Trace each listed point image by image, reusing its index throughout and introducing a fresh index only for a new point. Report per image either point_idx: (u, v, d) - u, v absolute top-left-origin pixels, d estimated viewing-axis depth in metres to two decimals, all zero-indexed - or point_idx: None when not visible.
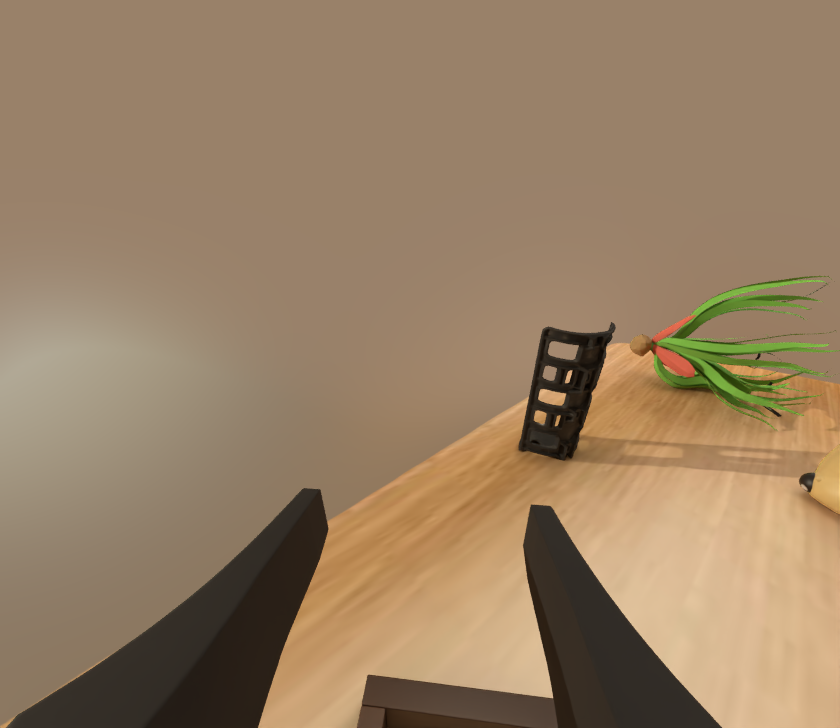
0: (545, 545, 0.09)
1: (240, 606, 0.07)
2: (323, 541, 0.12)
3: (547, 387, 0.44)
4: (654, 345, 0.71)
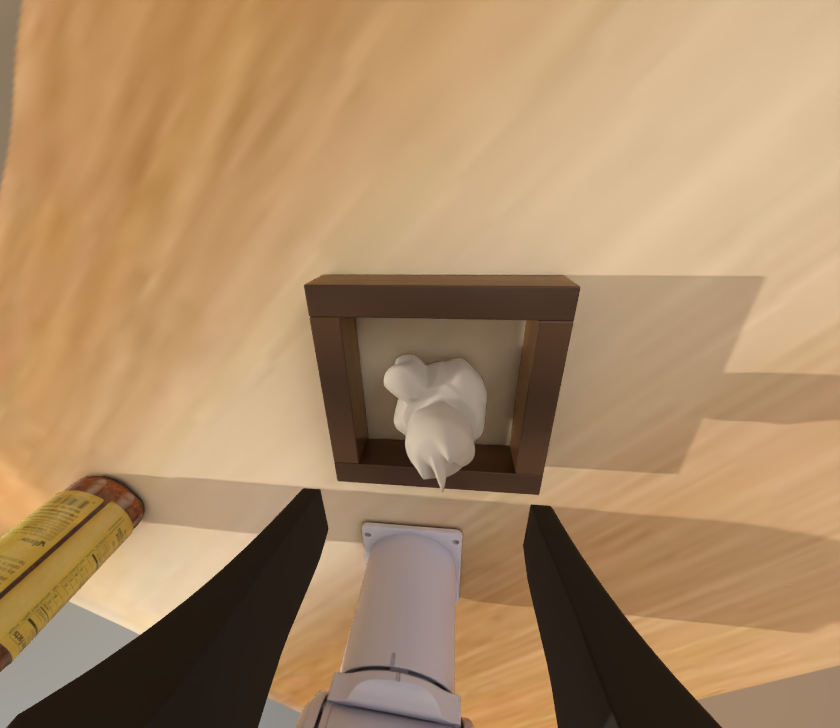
0: (545, 545, 0.09)
1: (240, 606, 0.07)
2: (323, 541, 0.12)
3: None
4: None
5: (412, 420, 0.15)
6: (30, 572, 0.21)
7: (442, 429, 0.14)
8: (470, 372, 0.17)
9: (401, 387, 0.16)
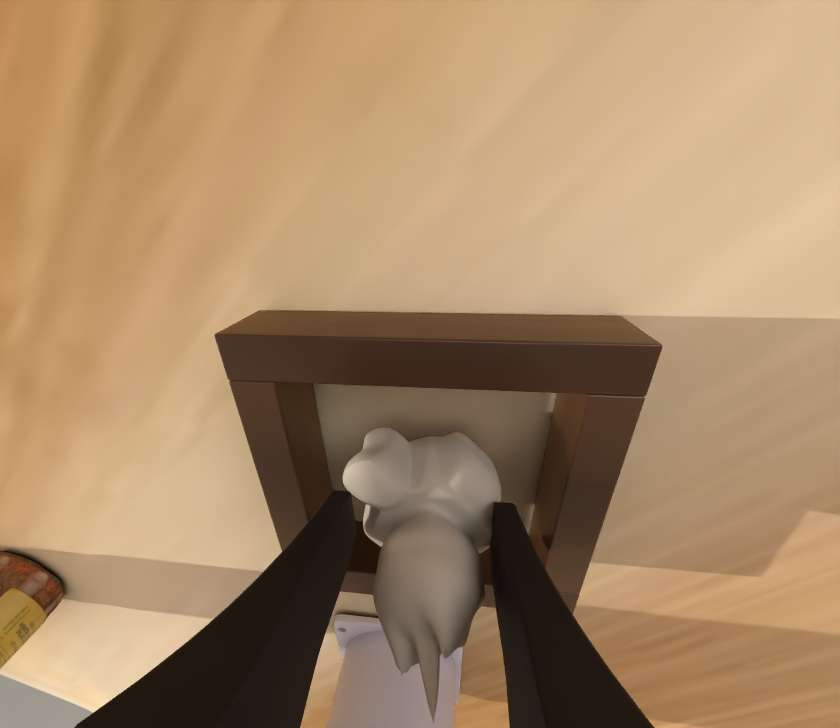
0: (502, 541, 0.09)
1: (285, 611, 0.07)
2: (352, 544, 0.11)
3: None
4: None
5: (384, 556, 0.09)
6: None
7: (433, 588, 0.08)
8: (476, 463, 0.11)
9: (369, 493, 0.10)
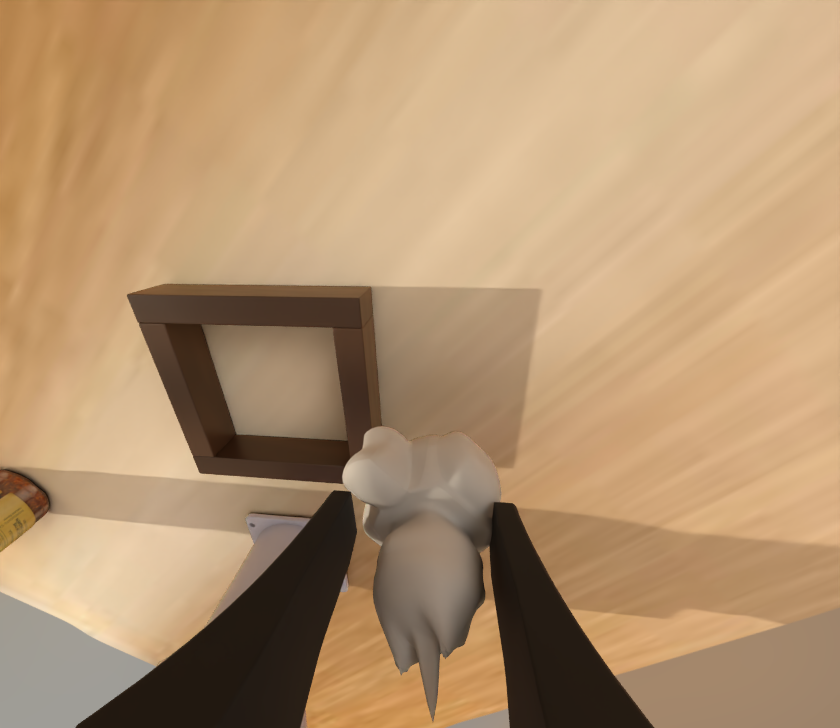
0: (502, 541, 0.09)
1: (286, 611, 0.07)
2: (353, 544, 0.11)
3: None
4: None
5: (384, 555, 0.09)
6: None
7: (432, 587, 0.08)
8: (476, 462, 0.11)
9: (368, 492, 0.10)
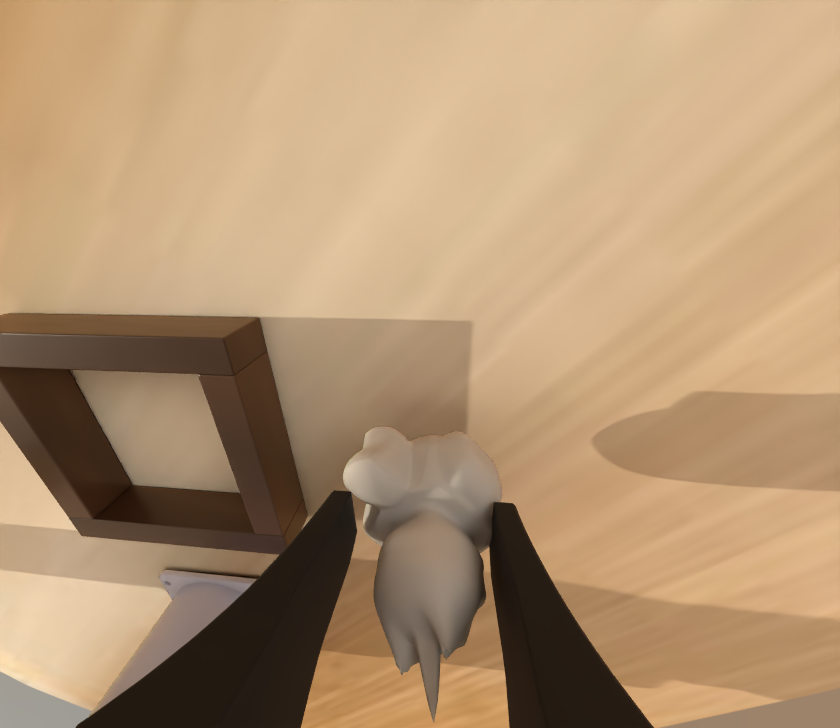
0: (502, 541, 0.09)
1: (286, 611, 0.07)
2: (353, 544, 0.11)
3: None
4: None
5: (385, 555, 0.09)
6: None
7: (433, 587, 0.08)
8: (477, 462, 0.11)
9: (369, 492, 0.10)
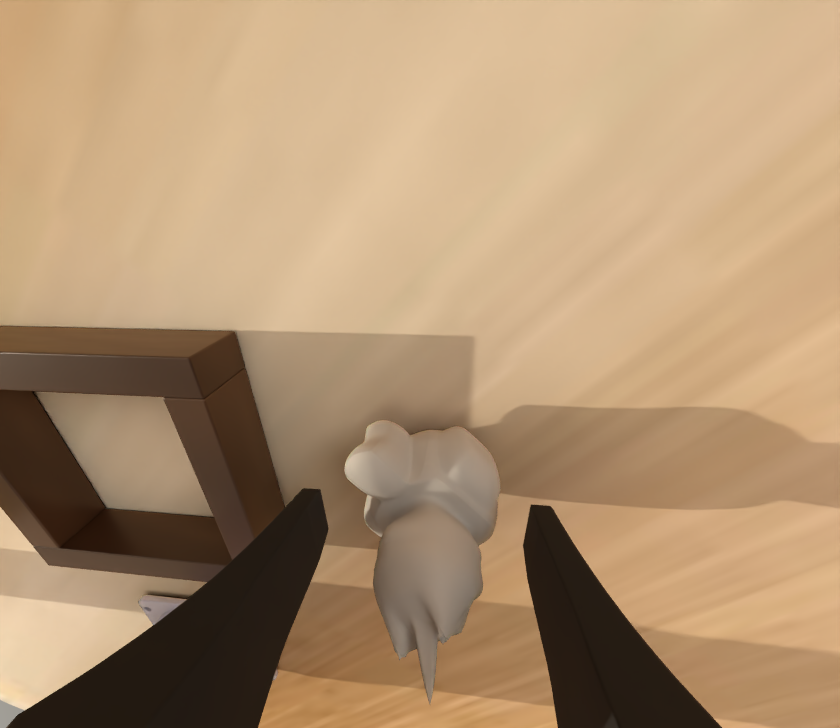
0: (545, 545, 0.09)
1: (240, 606, 0.07)
2: (323, 541, 0.12)
3: None
4: None
5: (384, 544, 0.10)
6: None
7: (431, 575, 0.08)
8: (476, 456, 0.11)
9: (370, 484, 0.10)
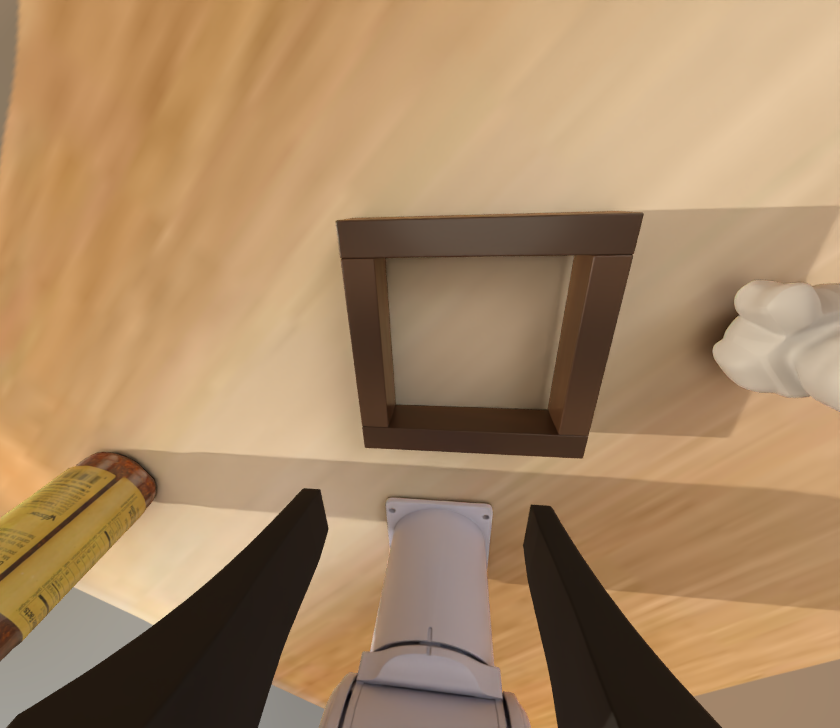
0: (545, 545, 0.09)
1: (240, 606, 0.07)
2: (323, 541, 0.12)
3: None
4: None
5: None
6: (40, 547, 0.20)
7: None
8: None
9: (805, 310, 0.13)
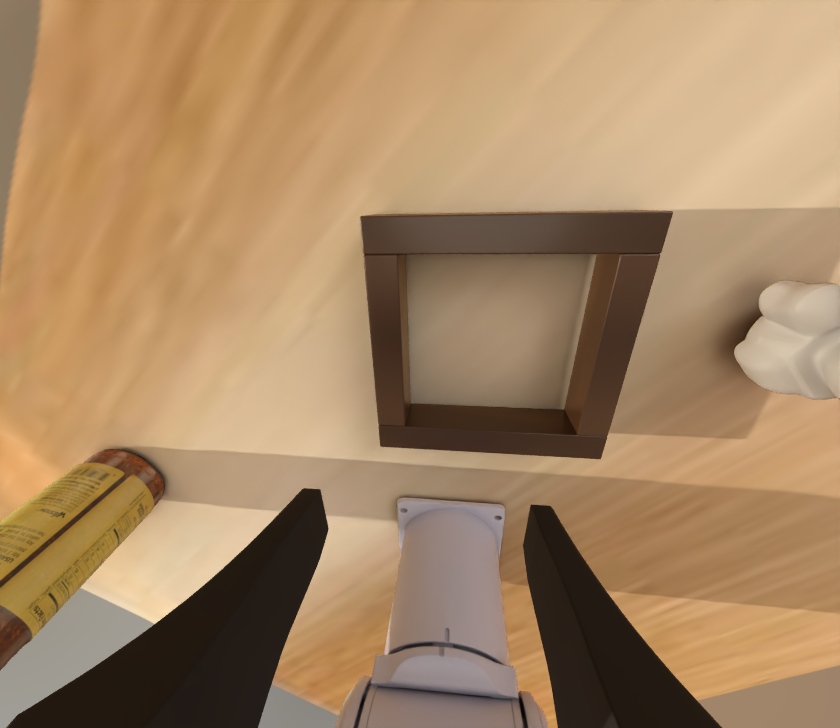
0: (545, 545, 0.09)
1: (240, 606, 0.07)
2: (323, 541, 0.12)
3: None
4: None
5: None
6: (50, 544, 0.19)
7: None
8: None
9: (835, 311, 0.13)
